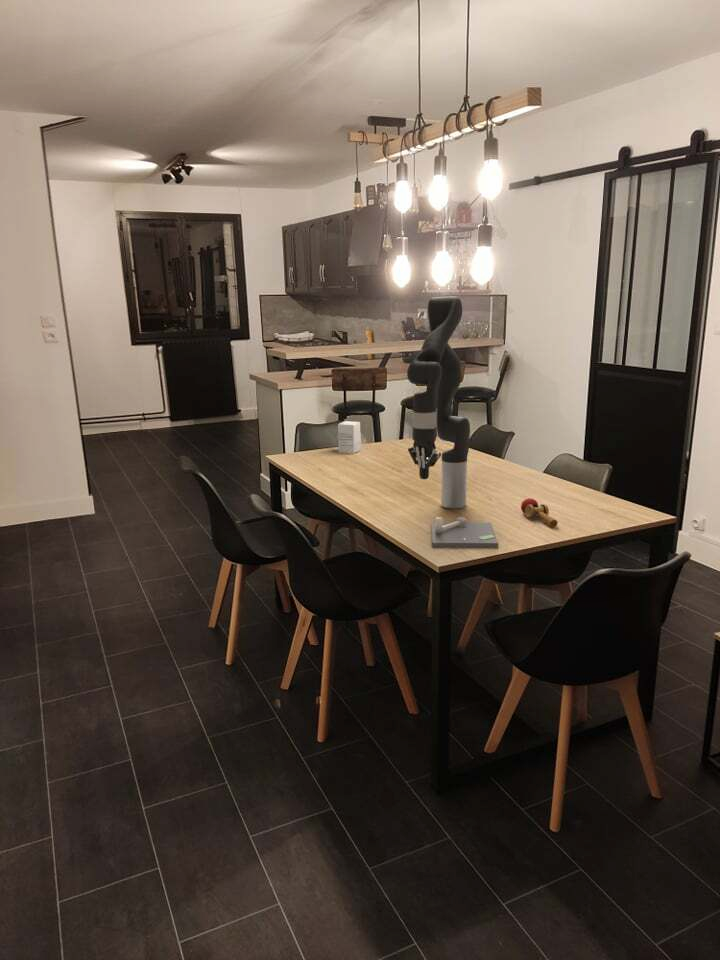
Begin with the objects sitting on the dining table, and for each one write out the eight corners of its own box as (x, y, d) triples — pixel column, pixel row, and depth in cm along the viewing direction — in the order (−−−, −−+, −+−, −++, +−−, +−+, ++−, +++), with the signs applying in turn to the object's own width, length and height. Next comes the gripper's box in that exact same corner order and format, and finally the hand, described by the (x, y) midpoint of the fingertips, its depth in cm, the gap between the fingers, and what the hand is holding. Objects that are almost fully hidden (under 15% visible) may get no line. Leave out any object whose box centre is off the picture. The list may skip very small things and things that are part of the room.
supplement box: (345, 449, 348) (344, 420, 344) (361, 450, 344) (360, 421, 341) (338, 453, 340) (337, 423, 336) (354, 454, 336) (353, 424, 333)
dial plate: (430, 526, 227) (430, 521, 227) (490, 526, 226) (491, 521, 225) (432, 547, 208) (432, 542, 208) (498, 547, 207) (498, 542, 206)
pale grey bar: (461, 522, 225) (461, 509, 224) (467, 524, 223) (468, 511, 222) (432, 531, 217) (432, 518, 216) (439, 533, 215) (439, 520, 213)
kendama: (564, 529, 226) (535, 507, 241) (564, 513, 223) (534, 492, 239) (544, 536, 224) (516, 513, 240) (543, 519, 221) (515, 498, 237)
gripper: (401, 424, 215) (401, 477, 219) (431, 429, 205) (431, 484, 210) (417, 421, 220) (417, 473, 224) (448, 426, 210) (447, 480, 214)
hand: (424, 478), depth 217 cm, fingers closed
